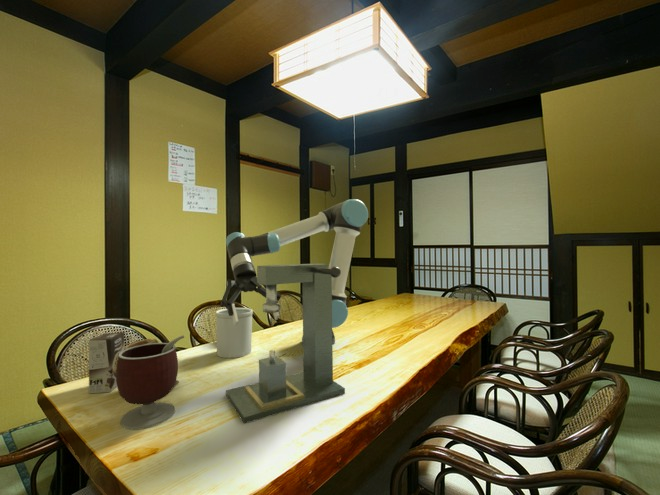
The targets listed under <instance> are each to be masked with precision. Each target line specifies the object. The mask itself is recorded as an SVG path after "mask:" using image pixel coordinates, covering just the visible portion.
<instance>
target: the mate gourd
mask: <svg viewBox="0 0 660 495" xmlns="http://www.w3.org/2000/svg"><path fill="white" fill-rule="evenodd" d="M184 338H185V335H184V334H182V335H180V336H178V337H176V338H174V339H172V340H170V341H169V342H159V343H152V344H144V345H139V346H135V347H131V348H128V349H126V350H123V351H122V352H120V353H119V358H118V362H117V368H116V382H117V387H116V388H117V391H118V394H119V396H120V397H121V398H122V399H123V400H124V401H125V402H126V403H127V404H131V405H139V406H137V407H135V408H133V409H131V410H129V411H126V413H124V414H123V415H122V417H121V418H120V426H121V427H122V428H124V429H126V430H134V431H135V430H143V429H148V428H152V427H156V426H158V425H161V424H162V423H164V422H166V421H168V420H169V419H171V418H172V417H173V416H174V414H175V412H176V408H175V405H173V403H170V402H165V401H162V402H157V401H160V400H162V399H164V398H165V397H167V396H168V395H169V394H170V393H171V391H172V390H173V388H174V387H175V386H174V385H175V383H176V380H177V378H178V371H179V359H178V355H177V354H178V352H177V350H176V345H175V344H177V343H178V342H179V341H180V340H182V339H184Z"/></svg>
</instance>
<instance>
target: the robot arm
mask: <svg viewBox="0 0 660 495" xmlns="http://www.w3.org/2000/svg"><path fill="white" fill-rule="evenodd" d="M368 210H369V209H368V208H367V205H366V204H365V203H364V202H363V201H362V200H360V199H356V198H353V199H352V198H351V199H346V200H345V201H342V202H339V203H336V204H334V205H333V206H331V207H329V208H326V209H325V210H322V211H319V212H318V214H317V215H314V216H311V217H308V218H306V219H305V218H304V219H302V220H300V221H297V222H293V223H291V224H288V225H285V226H283V227H278V228H277V229H273V230H271V231H268V232H266V233H261V234H259V235H254V236H246V235H245V234H244V233H243V232H238V231H235V232H231V233H230V234H228V235H227V236H226V239H225V245H226V249H227V254H228V258H229V261H230V264H231V270H232V273H233V278H234V280H232V279H231V278H227V281H226V284H225V285H226V288H225V291H224V293H223V296H222V299H221V302H220V305H219V306H220V307H221V308H224V307H225V309H227V310H228V314H229V316H232V318H233V323H234V326H237V324H238V317H237V313H236V309H235V308H236V306H235V305H236V304H235V301H236V299H237V298H238V296H239V295H240V294H241V292H243V293H248V292H250V293H251V292H255V293H257V294H259V295H261V296H263V297H264V298H265V299H266V285H263V284H259V283H257V270H256V268H255V265H254V262H253V261H254V260H253V257H257V256H261V255H269V254H273V253H278V252H280V250H281V247H282V246H285V245H288V244H291V243H294V242H296V241H299V240H302V239H304V238H307V237H310V236H313V235H315V234H317V233H321V232H325V233H327V232H329V231H335V237H334V241H333V246H332V251H331V256H330V259H329V264H328V269H331V268H332V267H338V268H340V270H341V274H340V276H339V277H337V278H334V277H332V346H333V345H334V344H336V337H335V333H334V330H333V329H334V328H335V329H336V328H339V327H340V326H343V324H344V323H345V322H346V320H347V318H348V316H349V310H348V306H347V305H346V303H347V297H348V296H347V295H346V293H345V289H346V285H347V279H348V275H349V271H350V267H351V261H352V255H353V252H354V247H355V243H356V242H355V241H356V238H357V237H358V236H359V235H360V234H361V231H362V227H363V226H364V225H365V224H366V223H367V221H368V218H369V211H368ZM233 286H235V287H237V288H236V289H235V291H234V293H233V294H232V295H231V296H230V298H229V299H228V296H229V294H230V290H231V288H232V287H233ZM233 288H234V287H233ZM281 297H282V295H281V293H280V292H279V291H278V290H277V303H279V301H280V300H281ZM227 299H228V300H227ZM279 313H280V312H275V313H272V314H273V318H274V320H275V321H277V320H278V319H279V317H280V314H279ZM301 344H302V345H303V335H302V337H301Z"/></svg>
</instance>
